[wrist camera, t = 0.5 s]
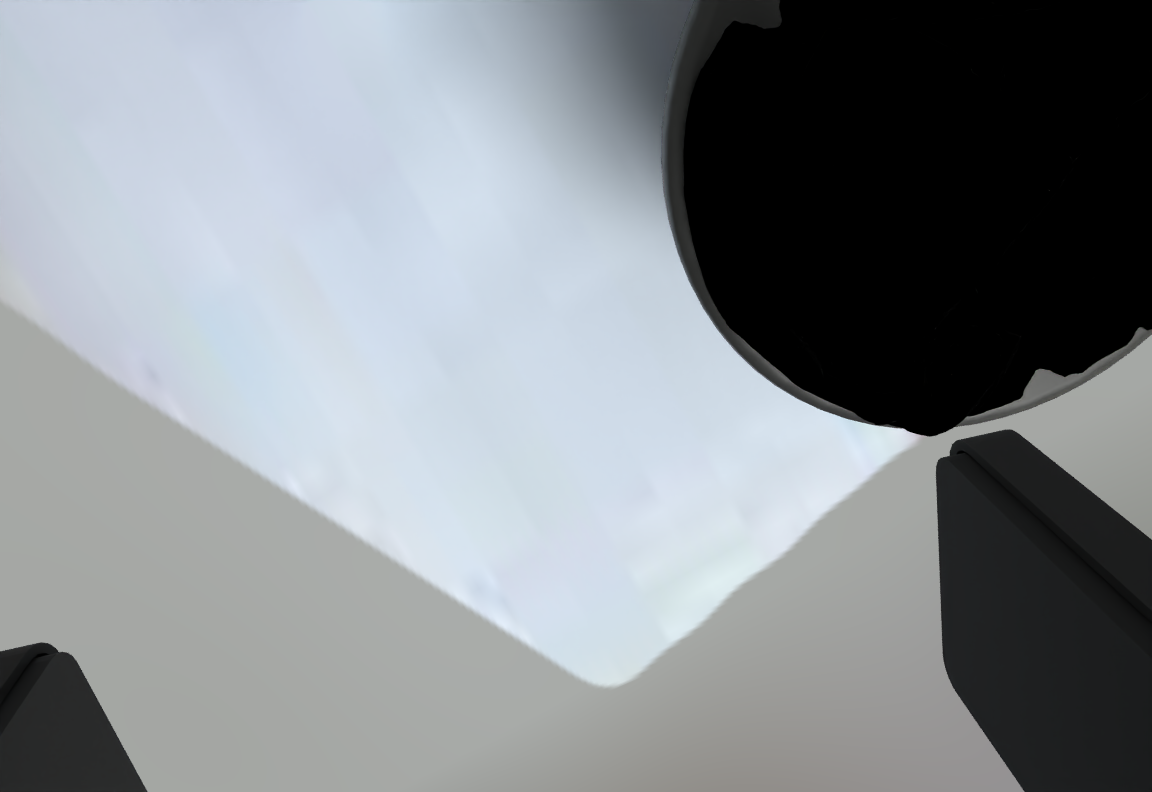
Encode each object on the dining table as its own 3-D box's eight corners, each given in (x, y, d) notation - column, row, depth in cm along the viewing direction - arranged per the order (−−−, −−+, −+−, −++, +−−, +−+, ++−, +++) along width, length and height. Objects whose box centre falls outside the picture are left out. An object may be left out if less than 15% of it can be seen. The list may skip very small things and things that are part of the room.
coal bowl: (548, -47, 34) (610, -112, 17) (1058, -260, 33) (1694, -569, 15) (705, 401, 42) (857, 671, 25) (1120, 242, 41) (1588, 410, 23)
